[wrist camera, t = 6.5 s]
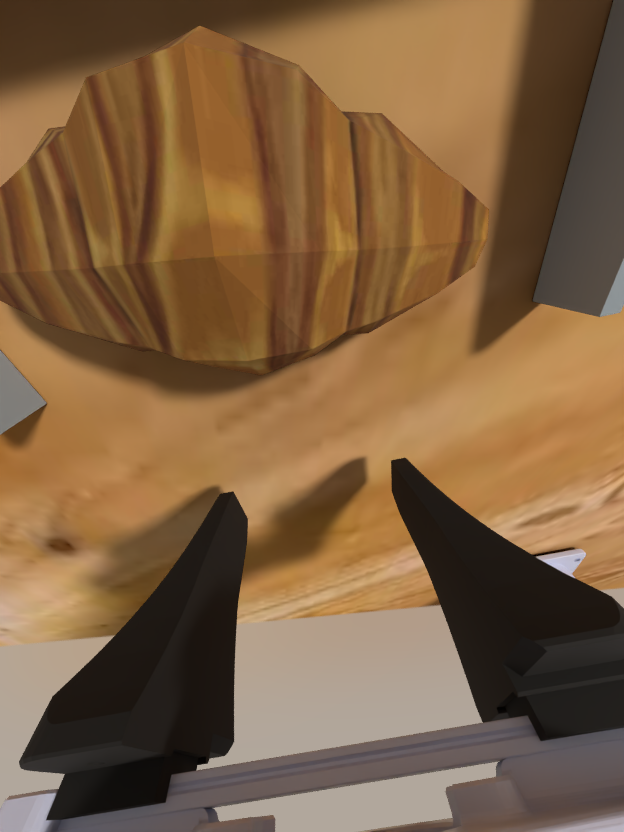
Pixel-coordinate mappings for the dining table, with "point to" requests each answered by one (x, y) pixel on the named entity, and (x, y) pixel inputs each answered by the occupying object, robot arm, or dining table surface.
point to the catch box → (572, 229)
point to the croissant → (228, 212)
